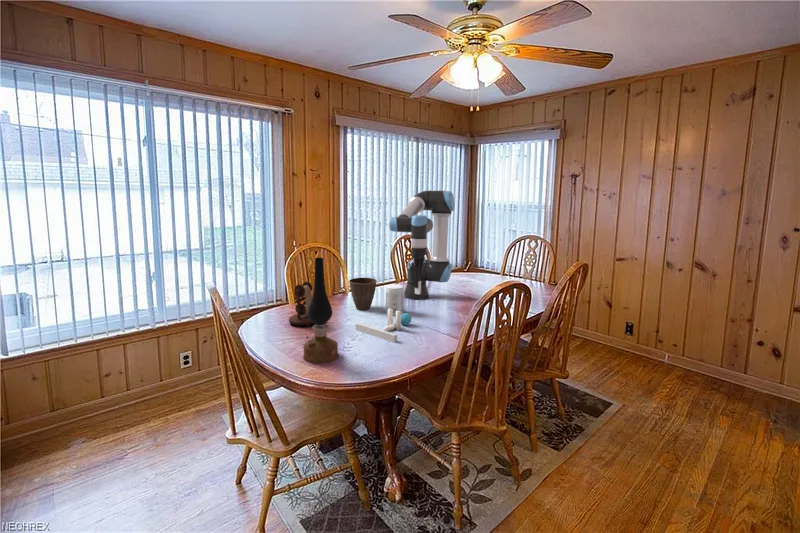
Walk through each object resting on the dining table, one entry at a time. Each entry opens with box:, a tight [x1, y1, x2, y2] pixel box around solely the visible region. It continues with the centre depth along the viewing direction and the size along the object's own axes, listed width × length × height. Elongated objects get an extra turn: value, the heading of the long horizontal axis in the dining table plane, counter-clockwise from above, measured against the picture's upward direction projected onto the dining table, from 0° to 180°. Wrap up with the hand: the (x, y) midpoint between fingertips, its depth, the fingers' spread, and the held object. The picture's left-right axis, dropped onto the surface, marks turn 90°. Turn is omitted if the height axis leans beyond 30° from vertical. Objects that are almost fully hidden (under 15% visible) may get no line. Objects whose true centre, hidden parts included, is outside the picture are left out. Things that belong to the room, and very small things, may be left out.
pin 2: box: [395, 311, 402, 331], centre depth 196 cm, size 2×2×9 cm
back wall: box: [355, 322, 398, 343], centre depth 188 cm, size 2×24×3 cm, turn 49°
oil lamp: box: [302, 257, 339, 364], centre depth 163 cm, size 14×15×40 cm
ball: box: [401, 312, 412, 326], centre depth 203 cm, size 6×6×6 cm
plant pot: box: [348, 277, 377, 311], centre depth 229 cm, size 15×15×16 cm
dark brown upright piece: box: [288, 281, 314, 328], centre depth 203 cm, size 15×15×20 cm
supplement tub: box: [385, 284, 405, 316], centre depth 222 cm, size 10×10×15 cm
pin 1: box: [387, 309, 394, 326], centre depth 199 cm, size 2×2×9 cm
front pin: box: [383, 322, 396, 332], centre depth 197 cm, size 2×2×9 cm
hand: (417, 293), depth 208 cm, fingers closed
